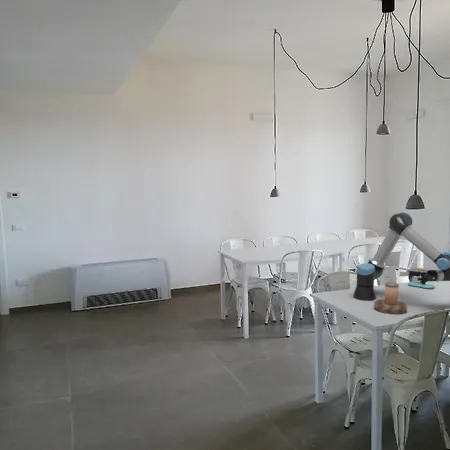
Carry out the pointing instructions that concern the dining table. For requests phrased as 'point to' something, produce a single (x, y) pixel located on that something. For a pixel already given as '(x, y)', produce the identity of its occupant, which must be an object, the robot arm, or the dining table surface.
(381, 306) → the walnut pedestal
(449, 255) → the robot arm
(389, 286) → the terracotta jar
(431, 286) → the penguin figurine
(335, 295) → the dining table surface
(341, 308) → the dining table surface
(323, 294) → the dining table surface
